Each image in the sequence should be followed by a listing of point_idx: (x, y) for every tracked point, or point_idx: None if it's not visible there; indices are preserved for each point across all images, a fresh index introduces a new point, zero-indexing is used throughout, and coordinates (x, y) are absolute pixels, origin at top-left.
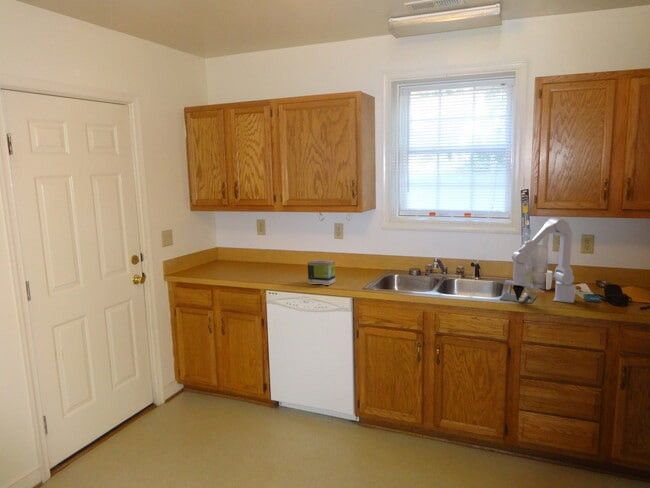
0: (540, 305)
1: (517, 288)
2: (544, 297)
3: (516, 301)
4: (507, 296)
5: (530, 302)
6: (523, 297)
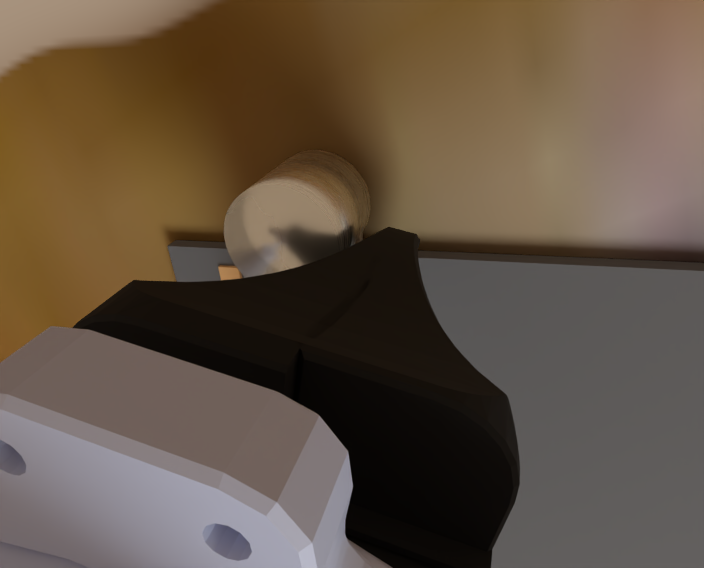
0: (27, 182)
1: (237, 318)
2: None
3: (443, 254)
4: (675, 510)
5: (187, 254)
6: (240, 251)
